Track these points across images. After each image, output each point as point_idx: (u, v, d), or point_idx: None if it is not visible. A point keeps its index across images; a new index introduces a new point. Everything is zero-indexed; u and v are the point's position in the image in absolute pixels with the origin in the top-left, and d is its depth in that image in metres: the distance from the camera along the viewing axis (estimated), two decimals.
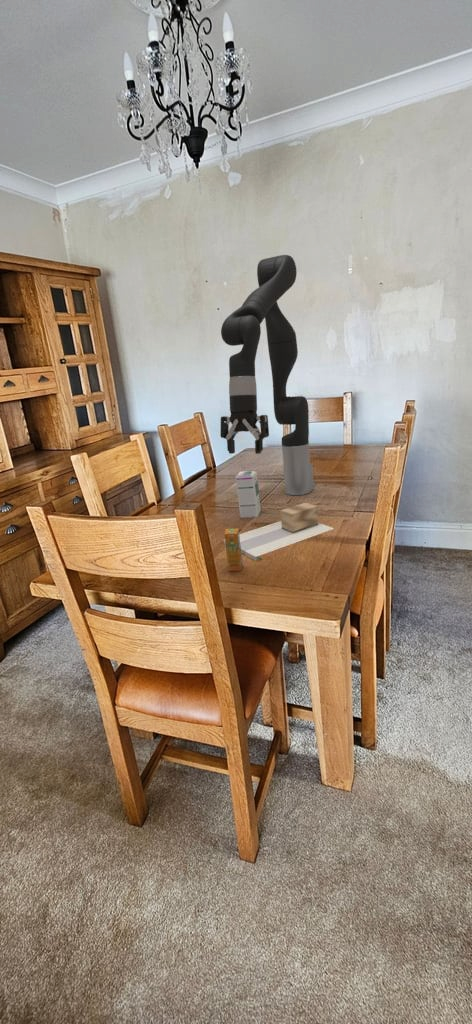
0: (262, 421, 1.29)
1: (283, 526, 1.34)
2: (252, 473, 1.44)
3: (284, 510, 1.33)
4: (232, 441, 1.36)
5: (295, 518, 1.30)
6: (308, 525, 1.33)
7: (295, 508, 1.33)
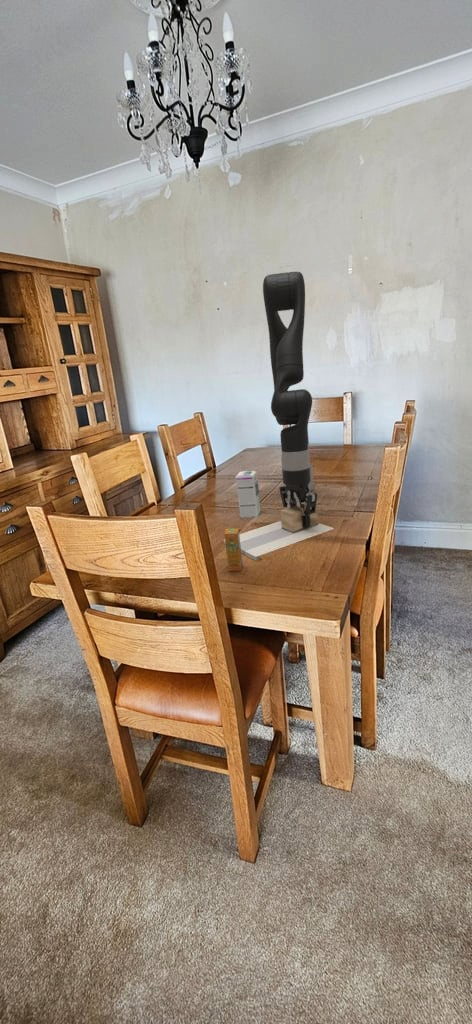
0: (308, 501, 1.26)
1: (283, 526, 1.34)
2: (252, 473, 1.44)
3: (284, 510, 1.33)
4: None
5: (295, 518, 1.30)
6: None
7: (295, 508, 1.33)
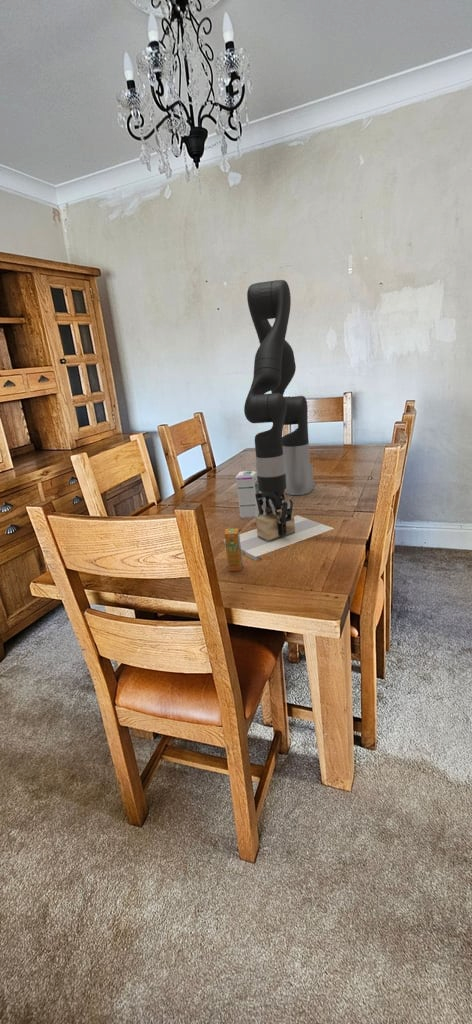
0: (283, 508, 1.22)
1: (259, 534, 1.29)
2: (252, 473, 1.44)
3: (260, 517, 1.28)
4: None
5: (270, 525, 1.26)
6: None
7: (271, 516, 1.29)
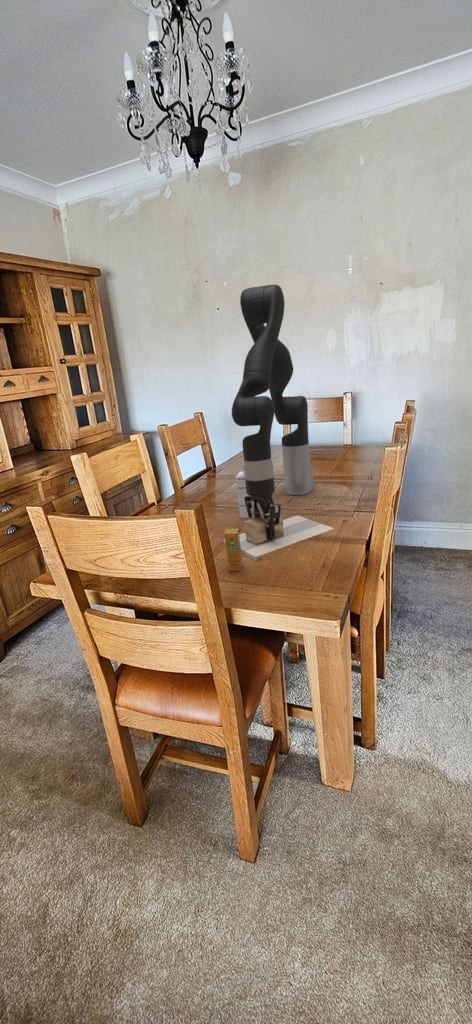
0: (271, 512, 1.21)
1: (247, 537, 1.28)
2: None
3: (248, 521, 1.27)
4: None
5: (258, 529, 1.24)
6: None
7: (260, 519, 1.28)
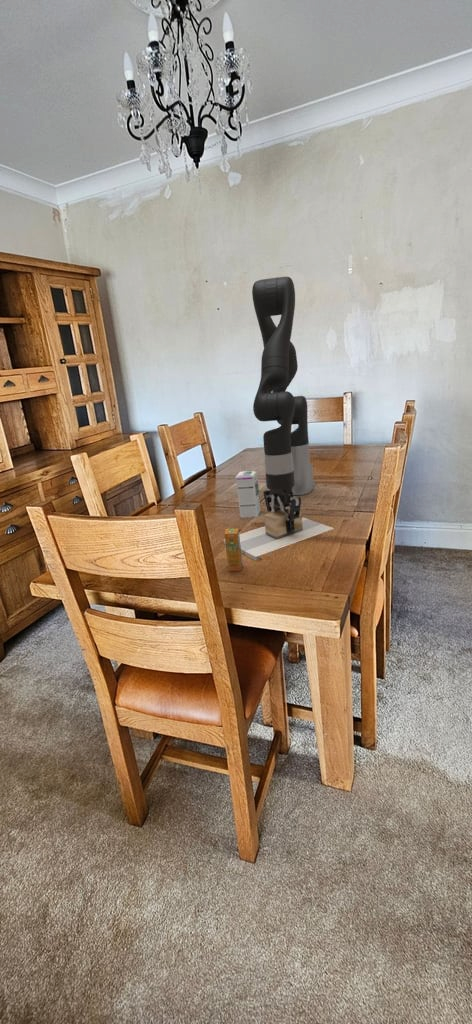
0: (292, 505, 1.23)
1: (267, 531, 1.31)
2: (252, 473, 1.44)
3: (268, 514, 1.30)
4: None
5: (279, 522, 1.27)
6: None
7: (279, 513, 1.30)
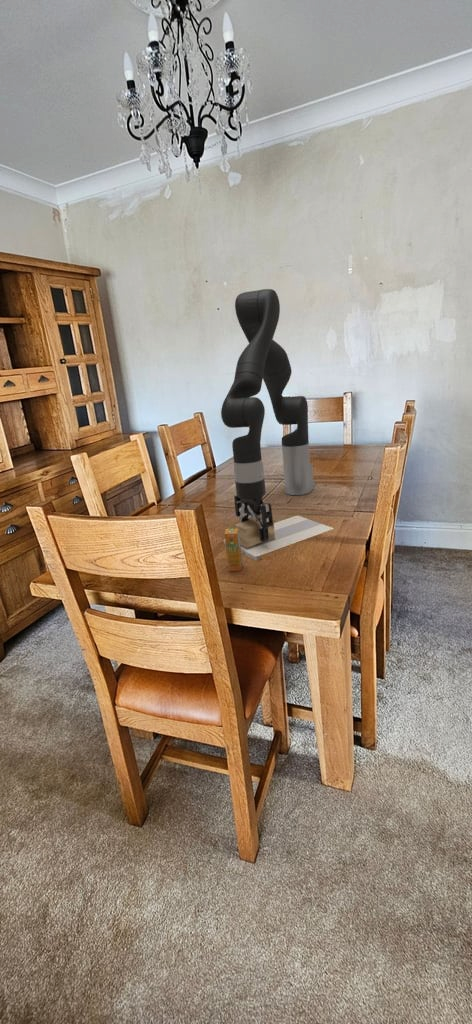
0: (262, 512, 1.19)
1: None
2: None
3: (238, 524, 1.26)
4: None
5: (249, 533, 1.23)
6: None
7: (250, 522, 1.26)
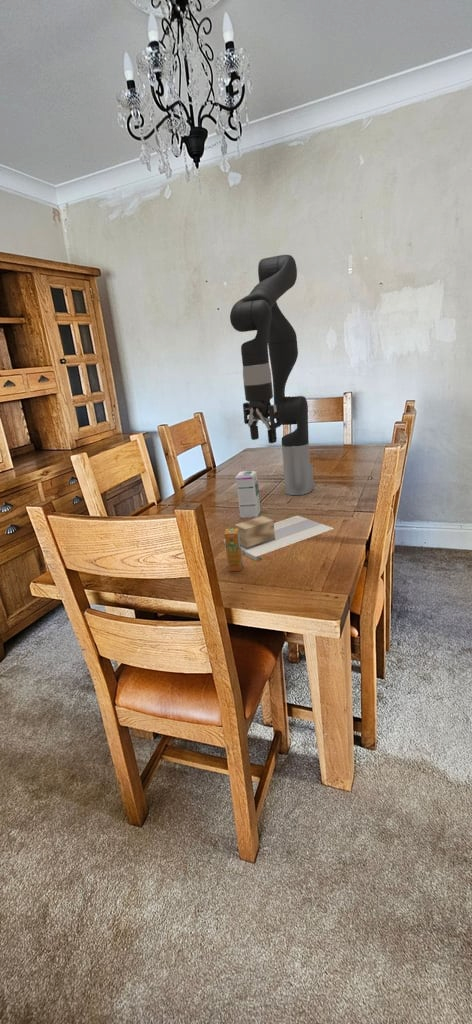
0: (270, 412, 1.26)
1: None
2: (252, 473, 1.44)
3: (238, 524, 1.26)
4: (254, 427, 1.36)
5: (249, 533, 1.23)
6: (264, 540, 1.26)
7: (250, 522, 1.26)
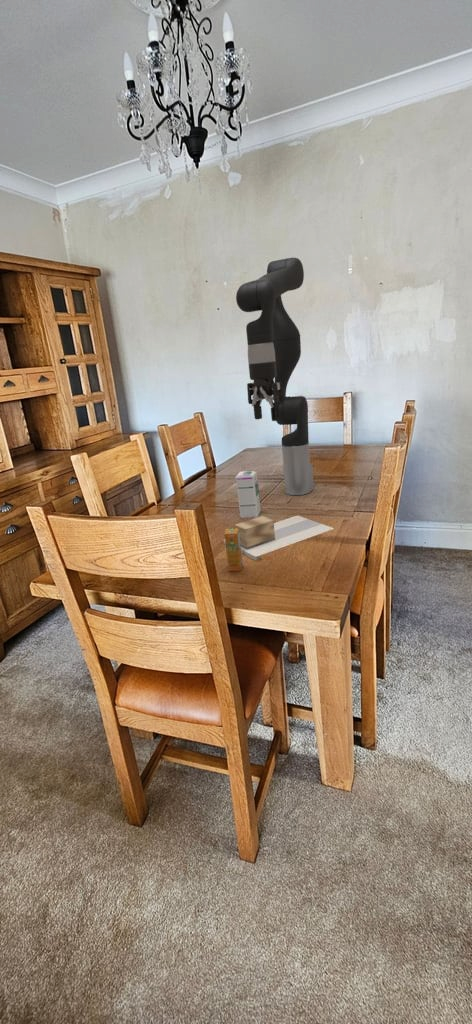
0: (274, 389, 1.29)
1: None
2: (252, 473, 1.44)
3: (238, 524, 1.26)
4: (258, 407, 1.40)
5: (249, 533, 1.23)
6: (264, 540, 1.26)
7: (250, 522, 1.26)
